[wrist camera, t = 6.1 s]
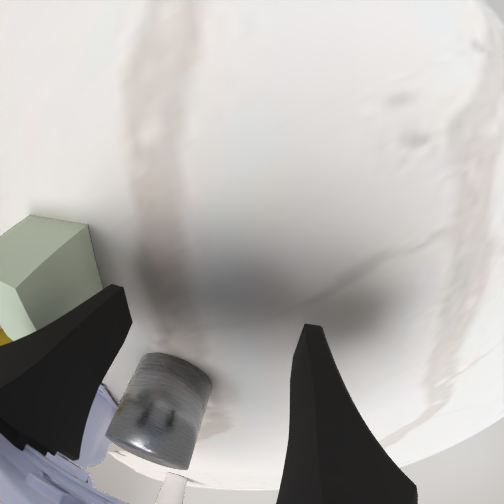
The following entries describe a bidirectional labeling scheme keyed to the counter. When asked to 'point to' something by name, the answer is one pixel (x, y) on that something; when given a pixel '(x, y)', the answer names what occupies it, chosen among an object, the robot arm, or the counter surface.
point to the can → (161, 411)
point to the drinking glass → (172, 490)
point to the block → (44, 273)
